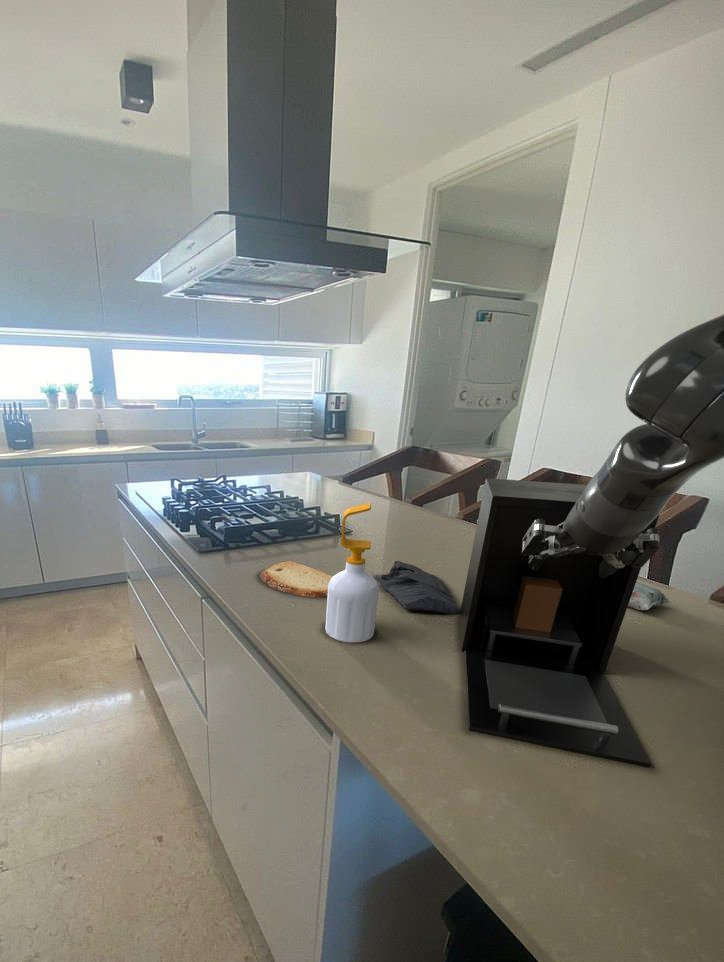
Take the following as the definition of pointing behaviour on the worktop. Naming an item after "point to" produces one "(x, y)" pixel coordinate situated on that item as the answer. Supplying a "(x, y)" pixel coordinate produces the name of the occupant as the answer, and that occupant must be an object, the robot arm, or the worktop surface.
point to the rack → (504, 625)
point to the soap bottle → (352, 592)
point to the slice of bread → (297, 579)
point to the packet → (537, 603)
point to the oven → (537, 664)
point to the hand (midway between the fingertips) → (567, 568)
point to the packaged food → (646, 597)
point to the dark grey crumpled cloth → (417, 589)
